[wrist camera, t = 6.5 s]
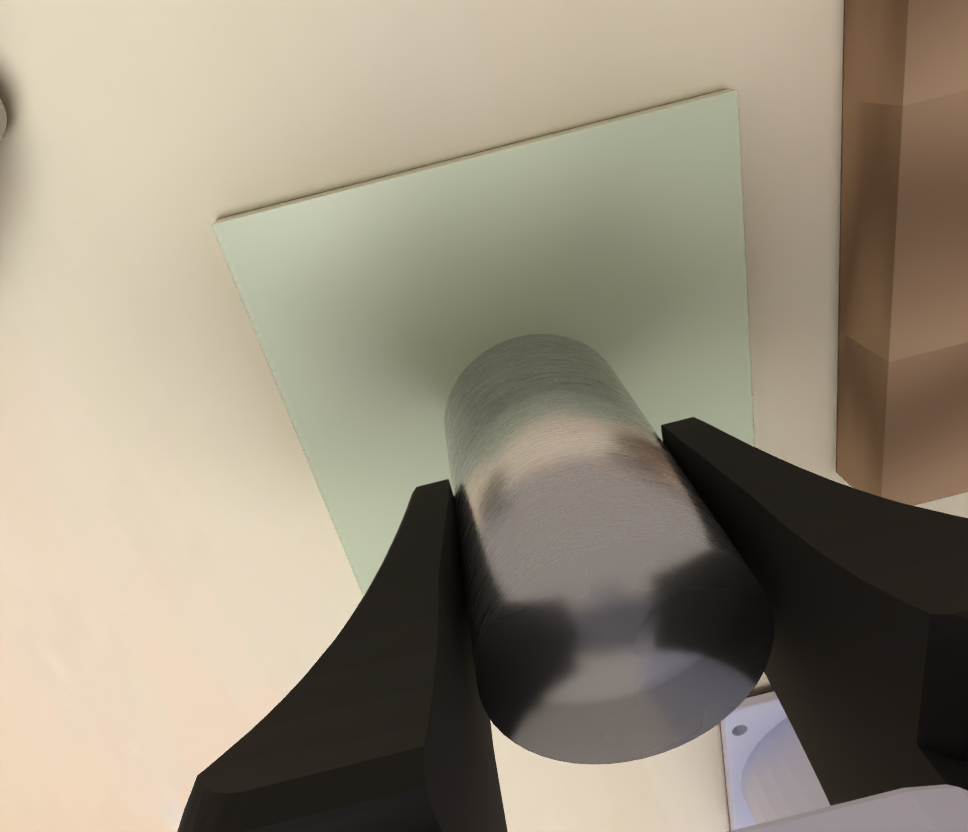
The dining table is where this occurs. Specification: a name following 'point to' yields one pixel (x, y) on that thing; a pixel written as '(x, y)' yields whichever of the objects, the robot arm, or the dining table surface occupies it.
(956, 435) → the walnut holder
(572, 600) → the metal peg
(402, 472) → the sage pad
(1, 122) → the elephant statuette
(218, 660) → the dining table surface
